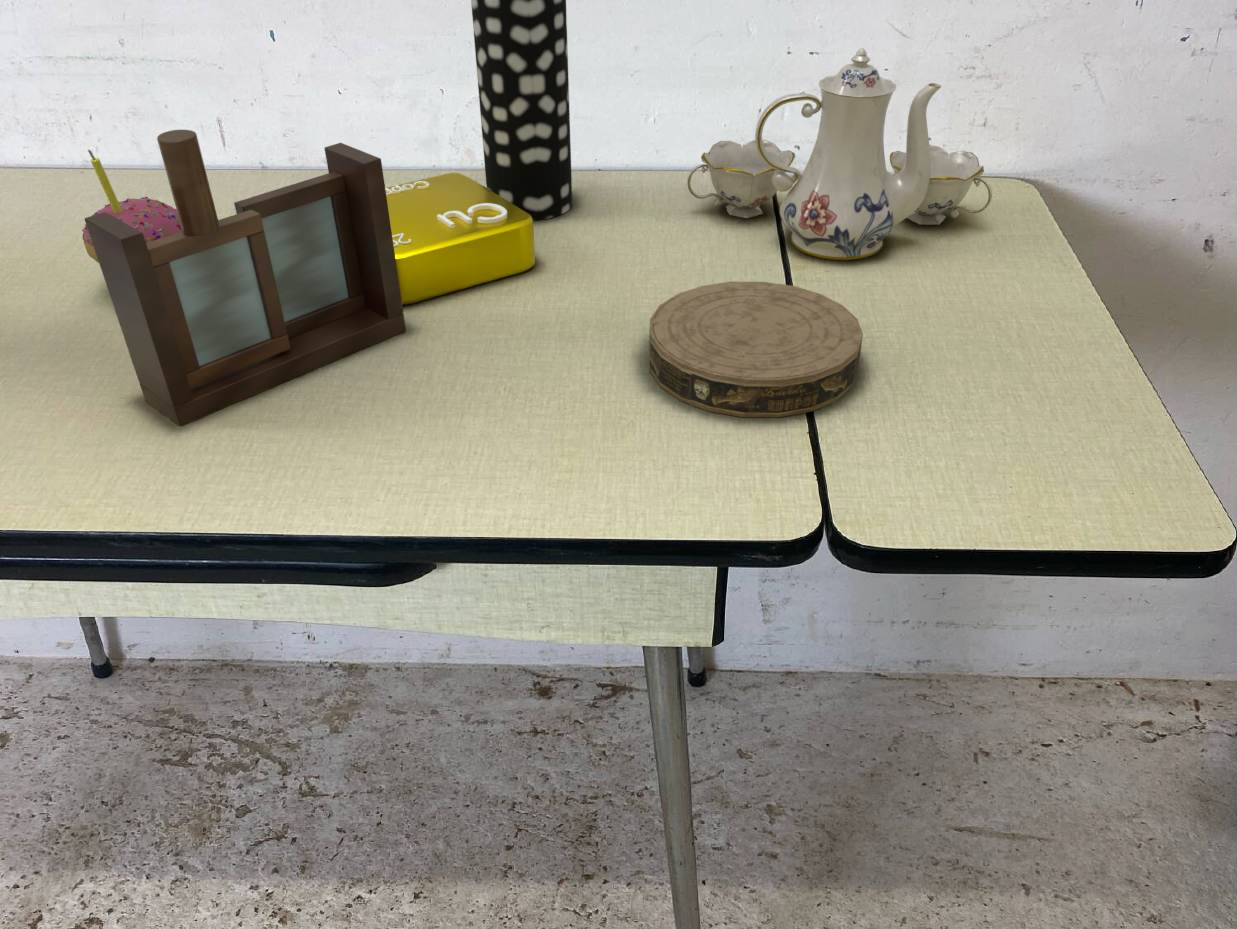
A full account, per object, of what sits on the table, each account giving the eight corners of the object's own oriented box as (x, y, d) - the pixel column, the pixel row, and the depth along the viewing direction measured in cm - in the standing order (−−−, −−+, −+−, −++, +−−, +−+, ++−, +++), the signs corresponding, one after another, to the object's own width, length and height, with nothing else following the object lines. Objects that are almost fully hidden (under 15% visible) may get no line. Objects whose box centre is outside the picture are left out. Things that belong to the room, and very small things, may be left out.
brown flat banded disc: (700, 301, 91) (701, 266, 89) (883, 341, 85) (890, 306, 83) (611, 386, 80) (611, 349, 78) (815, 439, 75) (820, 400, 73)
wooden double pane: (179, 426, 76) (120, 239, 67) (145, 401, 79) (83, 217, 70) (406, 330, 87) (381, 158, 78) (369, 311, 90) (340, 142, 81)
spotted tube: (543, 227, 103) (531, -12, 89) (471, 210, 106) (449, -23, 92) (587, 198, 108) (582, -31, 95) (517, 183, 111) (503, -41, 98)
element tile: (463, 214, 105) (458, 163, 102) (544, 267, 96) (541, 213, 93) (318, 250, 99) (308, 197, 96) (390, 311, 90) (381, 255, 86)
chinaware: (963, 213, 109) (996, 26, 99) (1008, 267, 95) (1052, 56, 86) (684, 212, 109) (690, 26, 100) (690, 265, 96) (697, 56, 86)
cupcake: (155, 315, 89) (109, 166, 81) (78, 297, 92) (26, 151, 84) (224, 275, 95) (188, 132, 87) (150, 258, 98) (107, 118, 90)
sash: (194, 393, 76) (123, 156, 66) (176, 381, 78) (104, 147, 67) (295, 351, 81) (245, 123, 70) (277, 341, 82) (225, 115, 71)
